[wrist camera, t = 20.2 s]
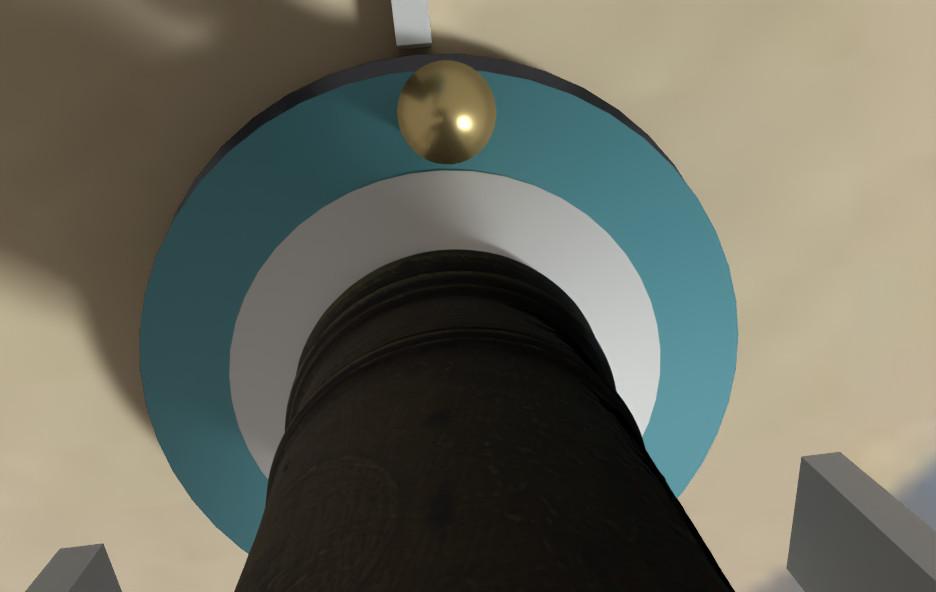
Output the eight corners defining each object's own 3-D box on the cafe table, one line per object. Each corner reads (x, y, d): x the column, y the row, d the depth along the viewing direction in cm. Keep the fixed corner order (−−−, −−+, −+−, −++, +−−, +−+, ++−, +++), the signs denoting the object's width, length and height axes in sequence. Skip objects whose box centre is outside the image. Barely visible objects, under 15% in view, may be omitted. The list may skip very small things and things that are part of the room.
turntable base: (67, -16, 16) (31, -28, 14) (725, -68, 16) (753, -84, 15) (238, 579, 23) (227, 611, 21) (690, 521, 24) (707, 547, 22)
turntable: (685, 557, 22) (777, 715, 16) (217, 597, 21) (141, 781, 15) (748, 64, 16) (927, 42, 10) (98, 80, 15) (-100, 66, 9)
